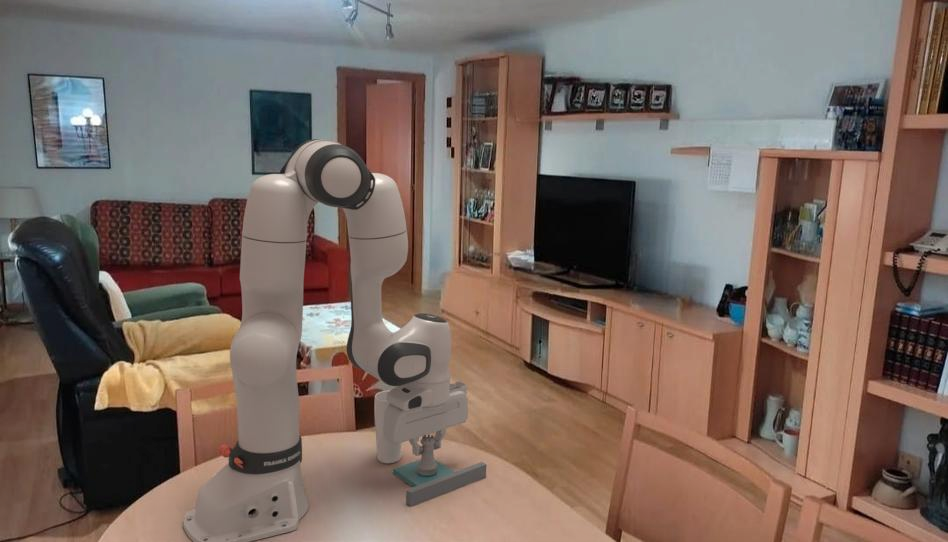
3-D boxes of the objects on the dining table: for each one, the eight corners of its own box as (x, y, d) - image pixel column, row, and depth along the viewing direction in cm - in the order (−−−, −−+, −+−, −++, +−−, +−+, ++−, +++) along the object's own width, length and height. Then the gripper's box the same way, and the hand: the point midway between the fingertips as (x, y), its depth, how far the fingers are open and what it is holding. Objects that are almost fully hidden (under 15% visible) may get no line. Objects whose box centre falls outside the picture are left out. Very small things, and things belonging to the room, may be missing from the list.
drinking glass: (371, 453, 158) (372, 391, 155) (400, 450, 160) (402, 389, 157) (376, 467, 151) (377, 402, 148) (406, 464, 153) (408, 400, 150)
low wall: (410, 506, 136) (410, 492, 136) (405, 503, 137) (406, 489, 137) (485, 477, 149) (486, 464, 149) (481, 474, 150) (481, 461, 150)
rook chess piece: (433, 478, 146) (434, 443, 144) (413, 475, 147) (414, 439, 145) (440, 468, 150) (441, 434, 148) (420, 465, 151) (421, 431, 149)
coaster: (420, 492, 142) (420, 487, 142) (392, 473, 149) (392, 468, 149) (458, 478, 148) (458, 473, 148) (429, 460, 156) (429, 456, 156)
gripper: (457, 375, 154) (454, 433, 157) (379, 395, 141) (378, 458, 143) (475, 384, 149) (473, 443, 152) (397, 405, 136) (396, 470, 139)
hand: (426, 451), depth 148 cm, fingers open, 3 cm apart
